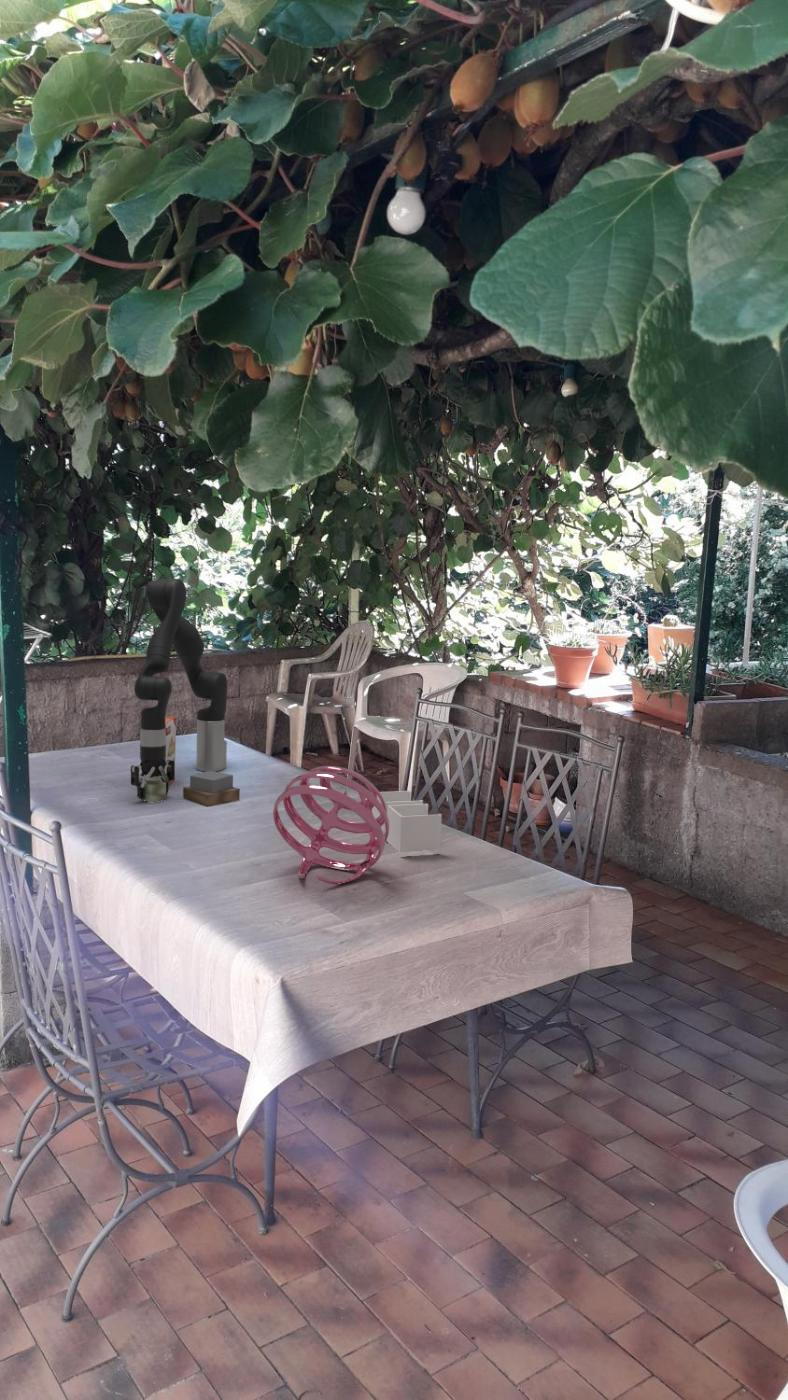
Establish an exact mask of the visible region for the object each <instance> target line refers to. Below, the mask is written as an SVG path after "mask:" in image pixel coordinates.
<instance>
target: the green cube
mask: <svg viewBox="0 0 788 1400" xmlns="http://www.w3.org/2000/svg"><path fill="white" fill-rule="evenodd" d="M144 787H145V799H143V800H145V801H147V802H146V803H148V802H150V803H149V804H152V803H151V802H155V803H158V802H157V801H161V800H166V801H167V795H166V783H165V782H162V781H159V780H156V779H154V780H149V781H147V782H146V783H145V785H144ZM145 801H144V802H145ZM161 802H162V801H161Z"/></svg>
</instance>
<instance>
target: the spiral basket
mask: <svg viewBox="0 0 788 1400" xmlns="http://www.w3.org/2000/svg"><path fill="white" fill-rule="evenodd" d="M342 773H343V774H346V775H349V776H351V777H354V778H355V779H357V780H358V781H360V782H361V783H364V784H365V786H366V787H367V788H366V787H364V786H363V785H362V784H360V783H358V782H356V781H355V780H353V779H351V778H349V777H346V776H344V775H342ZM340 774H341V775H340ZM312 778H313V779H319V785H315V784H309V783H310V779H312ZM299 781H300V782H299ZM331 781H333V782H337V783H339V784H342V785H344V786H347V787H349V788H351V789H352V790H354V791H356V792H357V793H358V796H359V798H360V800H361V801H357V800H355V799H353V798H352V797H350V796H349V795H347V794H348V790H345V791H344V792H341V791H338V790H335V789H334V788H333V787H332V784H331ZM296 782H299V785H295V786H293V785H294V784H295V783H296ZM380 792H381V791H380V790H378V788H377V787H376V786H375V784H373V783H372V781H371V782H370V780H368V779H367V778H366V777H365V776H363V775H362V774H360V773H359V772H356V771H355V770H351V769H349V768H344V767H341V766H334V765H323V766H317V767H314V768H311V769H310V770H308V771H307V772H304V773H301V774H299V775H298V776H296V777H294V778H293V779H291V780H290V781H289V783H288V784H286V787H285V789H284V791H283V792H281V794H279V795H278V797H277V799H276V801H275V803H274V806H273V811H272V817H273V822H274V825H275V828H276V830H277V832H278V833H279V834H280V836H281V837H282V839H283V840H284V841H285V843H287V844H288V846H290V847H291V848H292V850H294V851H295V852H297V853H298V855H300V856H301V857H302V858H301V859H302V861H301V863H300V867H299V869H298V877H299V878H300V879H302V880H303V879H305V878H306V876H305V874H306V872H307V871H308V870H309V871H310V868H311V867H312V865H314V864H316V865H319V866H322V867H325V866H326V867H325V868H328V867H340V868H344V869H349V870H354V871H353V872H356V873H355V874H354V875H352V876H350V877H348V878H346V879H329V878H326V877H323V876H320V875H316V879H318V880H319V881H321V882H323V883H326V884H330V885H339V884H338V883H343V882H348V881H351V880H353V881H355V880H357V879H358V878H360V877H362V875H363V874H364V873H365V872H367V871H368V870H369V869H370V868H372V866H374V865H375V864H376V863H377V862H378V861H379V860H380V858H381V857H382V855H383V854H384V850H385V845H386V840H387V838H388V835H389V819H388V816H387V808H386V804H385V801H384V799H383V797H382V795H381V794H380ZM295 795H300V797H301V800H302V802H303V803H304V804H305V806H306V807H307V809H308V810H309V811H310V812H311V813H312V814H313V815H314V816H316V818H318V819H319V820H320V822H321V825H320V827H319V828H317V829H316V828H314V827H312V826H311V825H310V824H309V823H308V822H306V821H305V820H304V819H303V817H301V815H300V814H299V812H298V810H296V808H295V806H294V803H293V801H292V796H295ZM313 795H314V796H319V797H323V798H325V799H326V798H327V799H328V800H329V801H330V802H331V803H333V807H332V808H331V810H326V809H325V808H323V807H322V806H321V805H320V804H319V803H318V802H317V800H315V798H314V796H313ZM377 796H378V798H379V799H380V802H381V803H380V802H379V800H378V799H377ZM281 802H282V803H283V807H284V810H285V812H286V814H287V816H288V818H289V820H290V821H291V822H292V823H293V825H294V826H295V827H296V828H297V829H298V830H299V831H300V832H301V833H302V834H304V835H305V836H306V837H308V839H309V840H310V844H309V845H308V846H305V845H303V844H302V843H301V842H299V841H298V840H297V839H296V838H295V837H294V836H293V835H292V834H291V833H290V832H289V830H288V829H287V828H286V827H285V825H284V823H283V822H282V820H281V815H280V813H279V806H280V803H281ZM374 806H375V807H376V808H377V810H378V811H379V812H380V816H379V817H378V818H377V819H375V818H374V816H373V813H372V808H373V807H374ZM342 809H344V810H347V811H350V812H354V813H355V814H356V815H357V816H359V817H360V818H361V820H363V821H364V822H353V821H349V820H344V819H342V818H340V817H339V816H338V814H339V811H340V810H342ZM384 823H385V827H386V830H385V833H384V834H383V831H382V829H381V826H382V825H383V824H384ZM331 829H338V830H339V831H343V832H348V833H351V834H368V835H369V841H368V842H367V843H364V844H363V843H362V844H358V843H357V844H354V843H348V842H343V841H339V840H336V839H334V838H332V837H331V836H330V835H329V832H330V830H331ZM322 848H328V849H330V850H333V851H336V852H340V853H344V854H349V855H366V857H365V858H364V860H363V861H361V862H355V863H354V862H351V863H350V862H342V861H337V860H334V859H331V858H329V857H325V856H323V855H321V854H320V850H321V849H322ZM377 851H378V852H377ZM376 853H377V854H376ZM375 855H376V856H375ZM309 871H308V872H309ZM308 872H307V873H308ZM306 875H307V874H306ZM356 878H357V879H356ZM354 879H355V880H354ZM351 882H352V881H351ZM348 883H349V882H348Z"/></svg>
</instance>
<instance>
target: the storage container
mask: <svg viewBox="0 0 788 1400" xmlns="http://www.w3.org/2000/svg"><path fill="white" fill-rule="evenodd" d="M379 792H380V794H381V795H382V797H383V799H384V801H385V804H386V808H387V816H388V819H389V835H388V838H387V842H388V843H390V844H391V845H392V846H393V847H394V848H395V849H397V850H398V851H399V852H409V851H410V852H411V851H422V850H433V849H440V850H441V839H442V837H441V836H442V816H443V815H442V813H438V814H429V804H428V803H424V800H422V799H420V800H411V796H412V795H411V794H412V791H411V790H400V791H399V790H398V791H397V790H396V791H379ZM377 799H378V800H379V802H380V799H379V798H378V796H377ZM380 803H381V802H380ZM372 813H373V816H374V818H375V819H377V818H378V817H379V816H380V812H379V811H378V810H377V808H376V807H375V806H374V807H373V808H372ZM381 829H382V831H383V834H384V833H385V830H386V827H385V823H384V824H383V825H382V826H381Z"/></svg>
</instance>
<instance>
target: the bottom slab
mask: <svg viewBox="0 0 788 1400" xmlns="http://www.w3.org/2000/svg"><path fill="white" fill-rule="evenodd" d="M182 790H183V791H182V799H183V798H184V799H183V800H186V801H189V802H192V803H195V804H197V805H201V806H204V807H207V808H208V807H212V806H218V805H223V804H229V803H232V802H233V801H234V802H237V801H238V800H239V801H240V788H237V787H234V786H233V788H231V789H227V790H224V791H221V792H217V793H214V794H212V793H208V792H203V791H198V790H193V789H190V785H188V786H183V787H182Z"/></svg>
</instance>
